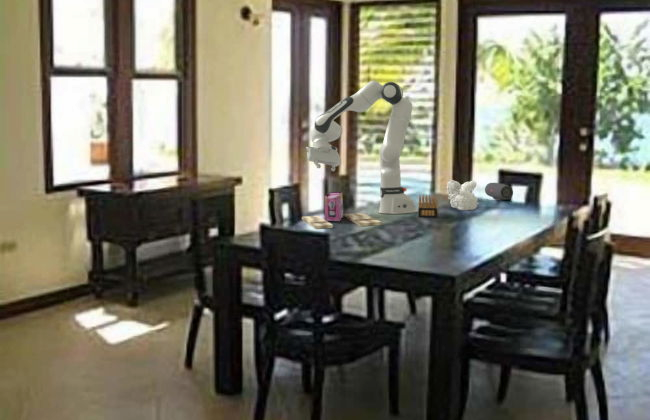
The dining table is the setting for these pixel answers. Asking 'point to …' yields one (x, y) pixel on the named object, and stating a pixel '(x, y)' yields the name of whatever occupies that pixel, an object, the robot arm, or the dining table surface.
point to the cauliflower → (462, 195)
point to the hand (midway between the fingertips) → (326, 169)
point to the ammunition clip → (428, 207)
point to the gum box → (333, 206)
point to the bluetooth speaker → (498, 191)
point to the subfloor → (357, 218)
